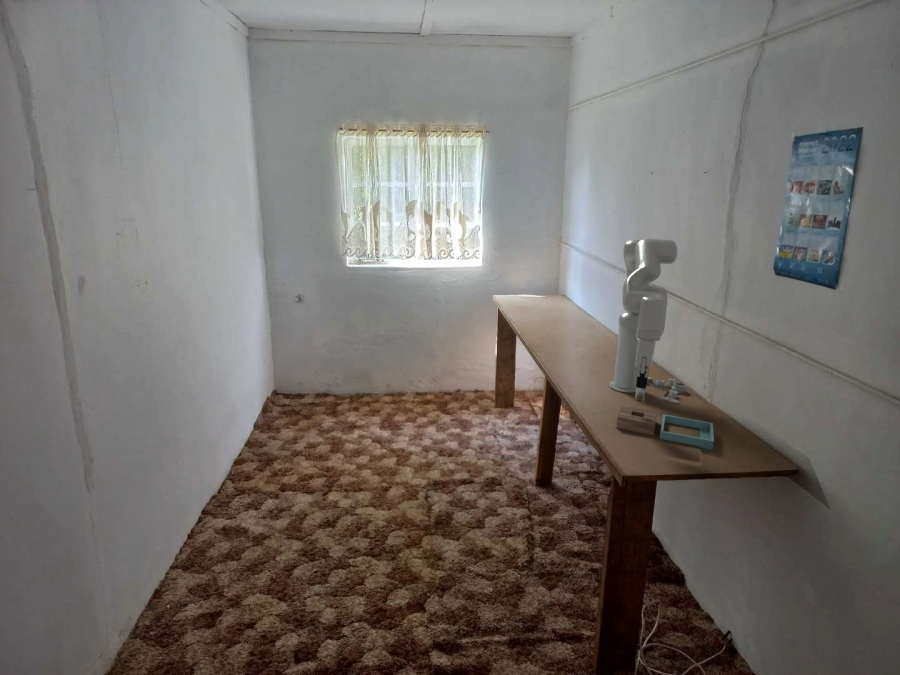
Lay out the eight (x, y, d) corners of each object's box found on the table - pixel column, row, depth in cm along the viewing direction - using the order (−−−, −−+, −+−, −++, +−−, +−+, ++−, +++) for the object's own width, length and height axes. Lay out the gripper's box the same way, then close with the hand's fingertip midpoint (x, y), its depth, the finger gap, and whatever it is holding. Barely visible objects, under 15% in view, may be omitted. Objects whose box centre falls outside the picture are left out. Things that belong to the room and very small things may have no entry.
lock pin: (635, 397, 200) (639, 367, 197) (644, 399, 199) (648, 368, 196) (634, 400, 197) (638, 370, 194) (643, 402, 196) (648, 371, 193)
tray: (661, 423, 204) (663, 414, 204) (711, 432, 199) (712, 422, 198) (659, 441, 190) (660, 431, 189) (712, 451, 184) (713, 441, 184)
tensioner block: (620, 418, 208) (621, 404, 206) (655, 424, 203) (657, 411, 202) (615, 430, 197) (617, 416, 196) (653, 437, 193) (655, 423, 191)
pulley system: (668, 382, 251) (635, 380, 249) (671, 372, 249) (637, 369, 248) (701, 409, 225) (664, 407, 223) (704, 397, 223) (667, 395, 222)
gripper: (639, 326, 200) (632, 376, 205) (634, 338, 185) (627, 392, 191) (662, 329, 197) (654, 380, 202) (659, 341, 183) (651, 396, 188)
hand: (641, 385), depth 196 cm, fingers closed on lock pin, 3 cm apart
